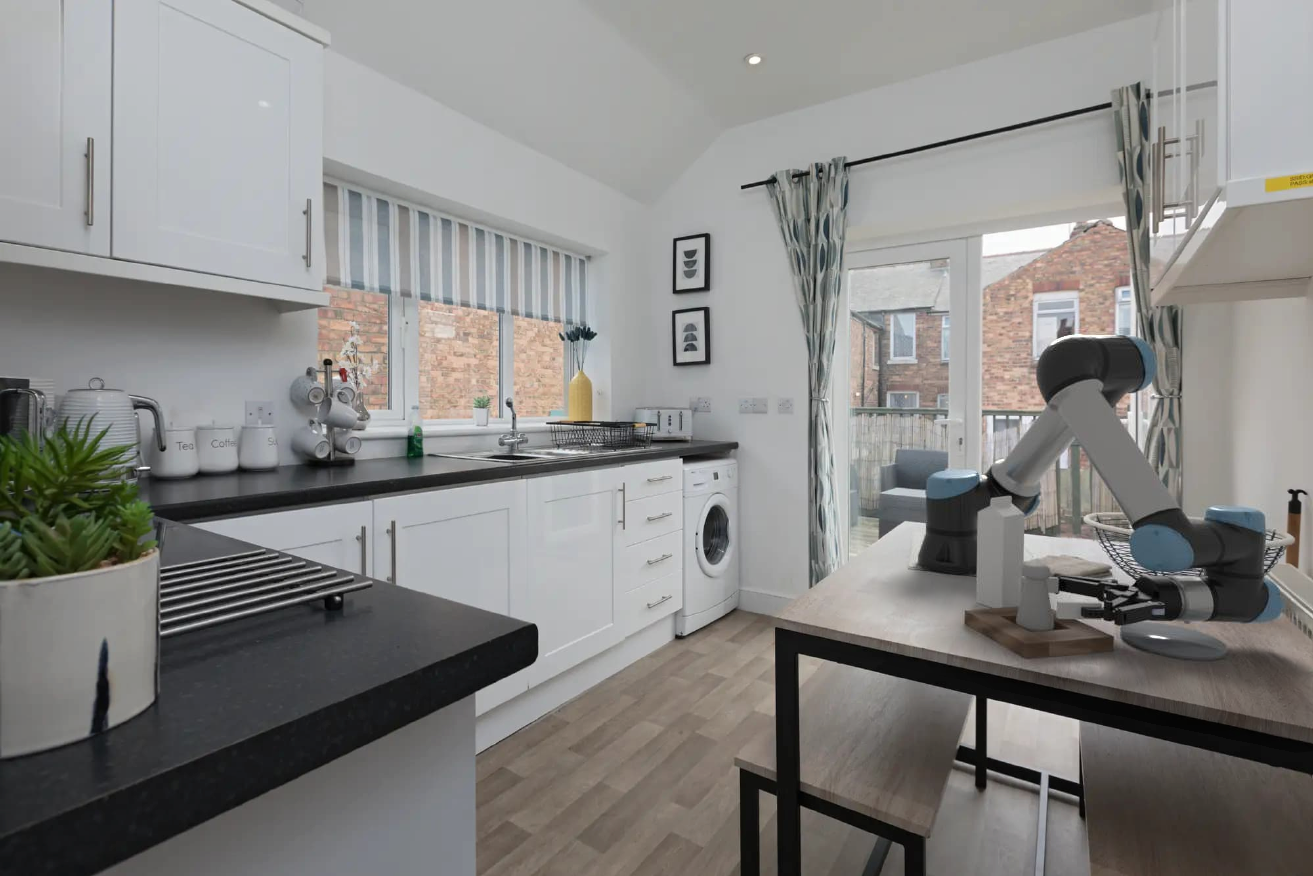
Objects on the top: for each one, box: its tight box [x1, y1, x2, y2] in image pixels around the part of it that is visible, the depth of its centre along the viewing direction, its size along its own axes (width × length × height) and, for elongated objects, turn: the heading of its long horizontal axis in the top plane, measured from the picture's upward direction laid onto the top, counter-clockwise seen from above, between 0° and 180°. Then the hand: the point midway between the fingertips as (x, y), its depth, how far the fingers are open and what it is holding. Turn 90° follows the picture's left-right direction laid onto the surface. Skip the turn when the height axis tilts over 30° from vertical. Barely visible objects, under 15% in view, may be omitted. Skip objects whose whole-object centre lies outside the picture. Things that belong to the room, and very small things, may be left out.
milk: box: [975, 496, 1026, 608], centre depth 128 cm, size 6×6×22 cm
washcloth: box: [1023, 554, 1113, 578], centre depth 149 cm, size 12×18×3 cm, turn 117°
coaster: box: [1119, 621, 1228, 662], centre depth 108 cm, size 14×14×1 cm
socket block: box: [964, 606, 1115, 660], centre depth 112 cm, size 16×16×2 cm
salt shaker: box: [1016, 562, 1054, 632], centre depth 111 cm, size 6×6×13 cm
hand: (1037, 596), depth 111 cm, fingers open, 13 cm apart
